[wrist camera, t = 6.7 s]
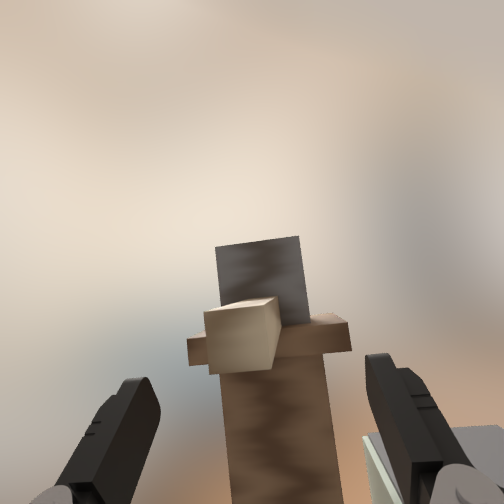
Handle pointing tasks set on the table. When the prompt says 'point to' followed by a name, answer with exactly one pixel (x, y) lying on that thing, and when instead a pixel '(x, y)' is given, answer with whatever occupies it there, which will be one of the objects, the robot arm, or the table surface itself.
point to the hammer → (255, 303)
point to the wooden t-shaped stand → (283, 418)
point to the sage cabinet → (470, 438)
